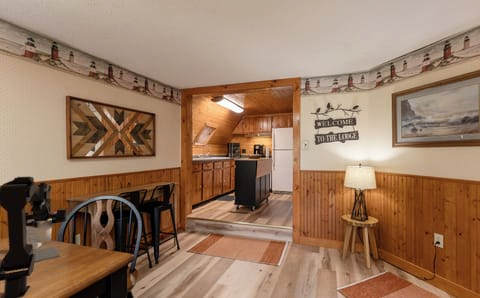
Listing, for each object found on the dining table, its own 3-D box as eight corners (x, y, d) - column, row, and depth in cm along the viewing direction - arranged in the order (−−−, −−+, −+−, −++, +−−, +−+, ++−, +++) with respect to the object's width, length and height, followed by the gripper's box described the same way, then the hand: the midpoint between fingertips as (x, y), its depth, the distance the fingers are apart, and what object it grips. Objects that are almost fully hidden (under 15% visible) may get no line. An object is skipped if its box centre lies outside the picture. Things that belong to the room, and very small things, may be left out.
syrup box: (28, 246, 125) (30, 219, 125) (42, 245, 127) (43, 218, 127) (23, 250, 119) (24, 222, 120) (37, 249, 122) (38, 221, 122)
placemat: (59, 256, 113) (60, 255, 113) (29, 263, 105) (29, 262, 105) (53, 247, 124) (53, 246, 124) (25, 253, 116) (25, 252, 116)
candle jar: (52, 240, 116) (53, 220, 116) (37, 243, 111) (38, 222, 112) (49, 237, 119) (50, 218, 119) (35, 240, 115) (36, 220, 115)
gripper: (67, 193, 117) (70, 210, 126) (18, 195, 108) (24, 214, 117) (64, 212, 110) (67, 229, 119) (10, 216, 101) (18, 235, 110)
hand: (45, 226), depth 117 cm, fingers closed on candle jar, 6 cm apart
